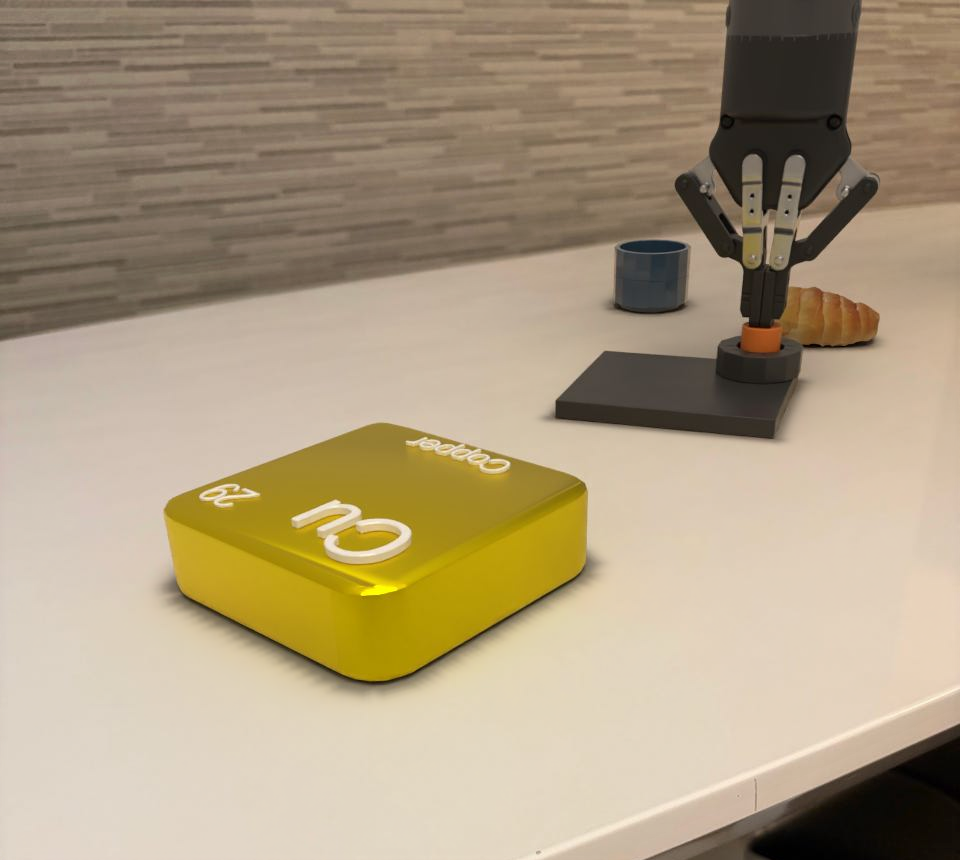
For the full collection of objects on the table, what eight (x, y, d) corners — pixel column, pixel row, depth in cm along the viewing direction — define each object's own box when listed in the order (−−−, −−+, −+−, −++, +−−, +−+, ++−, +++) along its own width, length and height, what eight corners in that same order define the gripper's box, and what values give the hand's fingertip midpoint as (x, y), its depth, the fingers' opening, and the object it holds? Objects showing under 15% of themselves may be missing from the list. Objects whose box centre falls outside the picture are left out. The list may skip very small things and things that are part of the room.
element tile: (603, 564, 52) (606, 470, 50) (378, 698, 42) (367, 590, 40) (387, 490, 61) (381, 407, 58) (160, 587, 51) (141, 493, 49)
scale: (801, 380, 76) (807, 337, 74) (777, 439, 66) (783, 391, 64) (604, 365, 80) (605, 324, 79) (554, 418, 70) (555, 372, 69)
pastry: (877, 329, 86) (884, 280, 84) (875, 353, 81) (883, 301, 79) (757, 323, 89) (761, 276, 87) (747, 346, 84) (752, 296, 82)
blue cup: (693, 298, 97) (696, 240, 95) (678, 316, 92) (681, 255, 89) (623, 295, 99) (625, 238, 97) (605, 311, 94) (606, 252, 92)
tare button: (781, 351, 74) (785, 321, 73) (776, 361, 72) (779, 330, 71) (743, 348, 75) (745, 318, 74) (736, 359, 73) (739, 328, 72)
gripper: (914, 23, 64) (868, 317, 73) (692, 28, 69) (675, 305, 77) (908, 26, 58) (860, 347, 67) (666, 31, 63) (650, 332, 71)
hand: (760, 324), depth 72 cm, fingers closed
